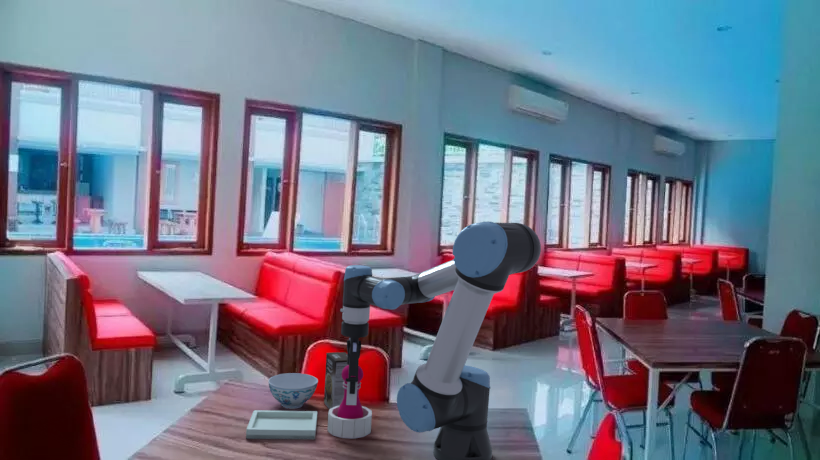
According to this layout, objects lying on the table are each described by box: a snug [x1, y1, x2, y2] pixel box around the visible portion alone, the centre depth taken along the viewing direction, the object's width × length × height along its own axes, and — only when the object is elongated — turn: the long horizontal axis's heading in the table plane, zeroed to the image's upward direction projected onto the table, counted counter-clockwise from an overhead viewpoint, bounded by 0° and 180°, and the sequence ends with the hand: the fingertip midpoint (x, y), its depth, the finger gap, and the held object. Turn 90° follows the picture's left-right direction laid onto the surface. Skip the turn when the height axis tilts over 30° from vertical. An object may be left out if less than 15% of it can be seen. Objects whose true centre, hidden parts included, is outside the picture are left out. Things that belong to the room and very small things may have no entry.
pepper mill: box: [337, 365, 364, 419], centre depth 169 cm, size 7×7×20 cm
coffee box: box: [323, 351, 348, 410], centre depth 186 cm, size 9×6×16 cm
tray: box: [245, 409, 318, 440], centre depth 167 cm, size 18×14×2 cm
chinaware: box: [267, 372, 319, 410], centre depth 186 cm, size 15×15×8 cm
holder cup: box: [327, 405, 373, 439], centre depth 169 cm, size 12×12×5 cm
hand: (350, 396), depth 169 cm, fingers open, 13 cm apart
